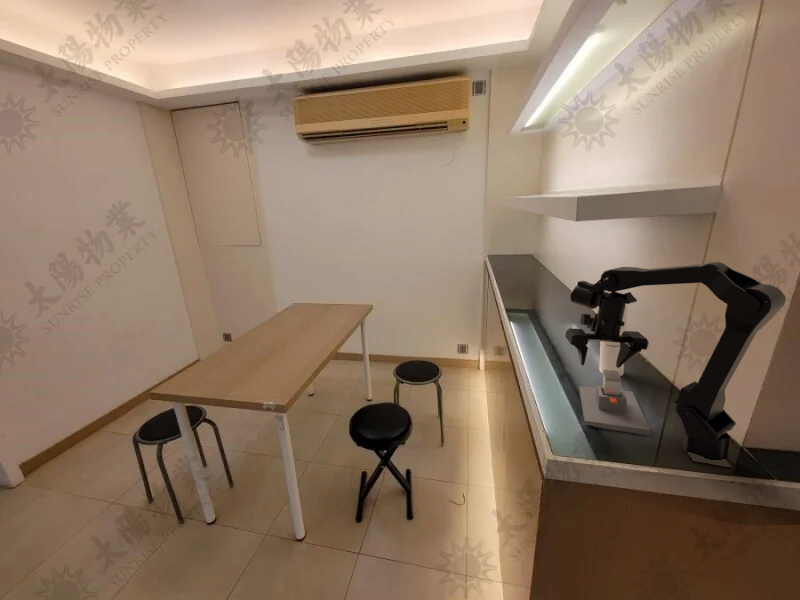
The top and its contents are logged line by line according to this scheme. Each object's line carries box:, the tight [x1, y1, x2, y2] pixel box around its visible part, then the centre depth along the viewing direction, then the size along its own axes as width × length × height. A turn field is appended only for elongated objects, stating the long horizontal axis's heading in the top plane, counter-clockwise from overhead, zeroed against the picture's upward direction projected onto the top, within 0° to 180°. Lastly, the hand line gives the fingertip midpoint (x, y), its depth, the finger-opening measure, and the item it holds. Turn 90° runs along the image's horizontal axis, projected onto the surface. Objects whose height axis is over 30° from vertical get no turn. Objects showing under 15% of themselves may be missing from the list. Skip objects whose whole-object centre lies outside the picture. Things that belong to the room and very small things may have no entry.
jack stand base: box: [578, 385, 651, 436], centre depth 92 cm, size 14×20×6 cm
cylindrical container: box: [598, 304, 628, 377], centre depth 112 cm, size 7×7×25 cm
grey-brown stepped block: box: [602, 370, 622, 397], centre depth 91 cm, size 4×5×9 cm
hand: (599, 365), depth 91 cm, fingers open, 9 cm apart
